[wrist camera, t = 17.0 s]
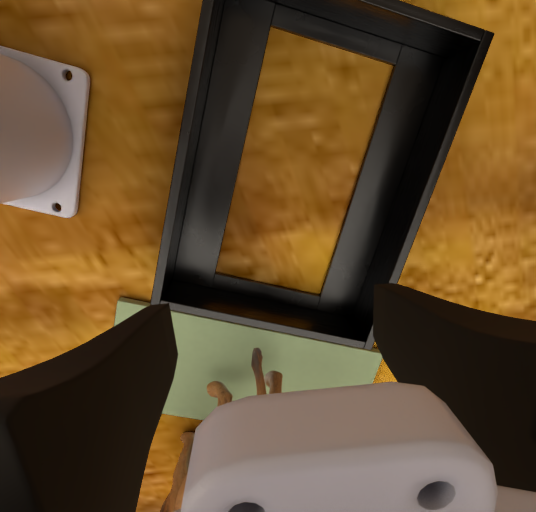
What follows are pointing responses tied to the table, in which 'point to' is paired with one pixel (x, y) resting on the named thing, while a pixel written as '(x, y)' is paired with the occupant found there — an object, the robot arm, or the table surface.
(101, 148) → the table surface
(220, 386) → the lion figurine
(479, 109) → the table surface
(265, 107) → the table surface
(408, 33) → the picture frame
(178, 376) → the sage mat
